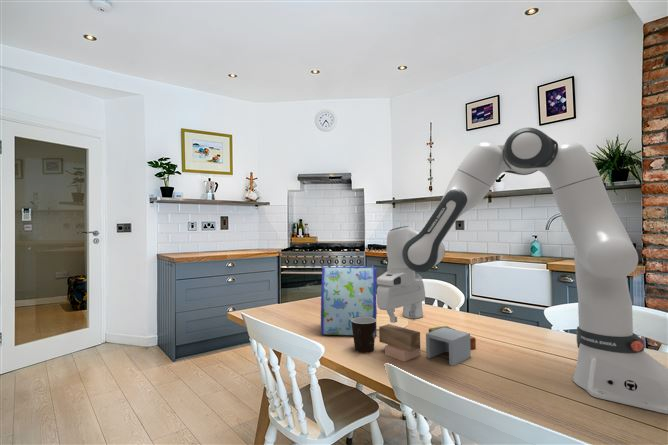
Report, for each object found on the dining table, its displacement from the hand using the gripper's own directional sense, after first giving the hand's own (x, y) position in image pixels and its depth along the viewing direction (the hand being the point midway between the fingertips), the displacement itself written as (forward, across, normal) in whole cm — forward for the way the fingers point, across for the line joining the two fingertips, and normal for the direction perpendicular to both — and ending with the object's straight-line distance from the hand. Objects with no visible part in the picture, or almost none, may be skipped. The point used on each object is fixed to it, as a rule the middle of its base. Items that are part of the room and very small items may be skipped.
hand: (403, 319), depth 115 cm
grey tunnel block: (+12, -9, +10) cm, 18 cm away
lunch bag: (+11, -5, -32) cm, 34 cm away
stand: (+12, 0, -1) cm, 12 cm away
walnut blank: (+9, 0, -2) cm, 9 cm away
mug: (+12, -40, -28) cm, 50 cm away
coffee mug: (+12, +7, -13) cm, 19 cm away
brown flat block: (+12, -21, +3) cm, 25 cm away
